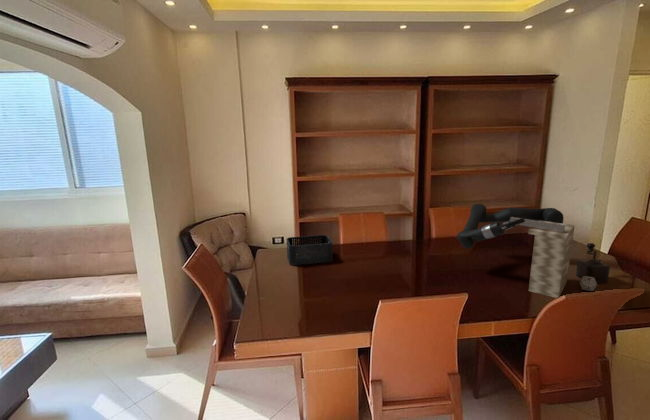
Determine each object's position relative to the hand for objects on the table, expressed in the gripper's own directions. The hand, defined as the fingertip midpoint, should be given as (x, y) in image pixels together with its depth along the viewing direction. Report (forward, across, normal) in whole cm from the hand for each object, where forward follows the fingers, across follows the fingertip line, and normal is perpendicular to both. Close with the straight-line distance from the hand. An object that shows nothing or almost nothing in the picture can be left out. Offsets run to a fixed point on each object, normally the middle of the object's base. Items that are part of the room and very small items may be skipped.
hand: (524, 219), depth 180 cm
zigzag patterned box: (-8, +6, +37) cm, 38 cm away
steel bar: (+3, 0, +6) cm, 6 cm away
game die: (+7, +13, +46) cm, 48 cm away
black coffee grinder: (+6, +33, +45) cm, 56 cm away
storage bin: (-118, -44, -26) cm, 128 cm away
